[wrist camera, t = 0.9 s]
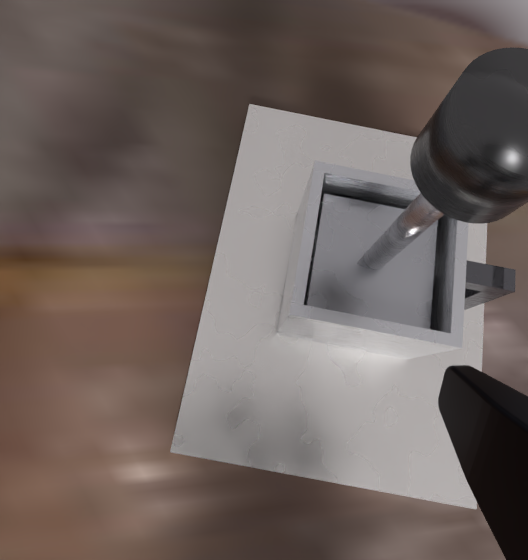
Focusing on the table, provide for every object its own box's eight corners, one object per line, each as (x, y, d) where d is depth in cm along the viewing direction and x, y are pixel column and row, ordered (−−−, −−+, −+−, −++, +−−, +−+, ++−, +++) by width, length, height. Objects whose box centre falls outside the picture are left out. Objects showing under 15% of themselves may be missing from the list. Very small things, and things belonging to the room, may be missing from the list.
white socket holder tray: (467, 505, 21) (562, 550, 15) (172, 449, 21) (146, 472, 15) (482, 159, 26) (556, 88, 20) (248, 112, 26) (253, 26, 20)
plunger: (424, 331, 18) (662, 250, 8) (304, 307, 18) (393, 197, 8) (433, 220, 20) (643, 34, 10) (322, 198, 20) (416, -13, 10)
